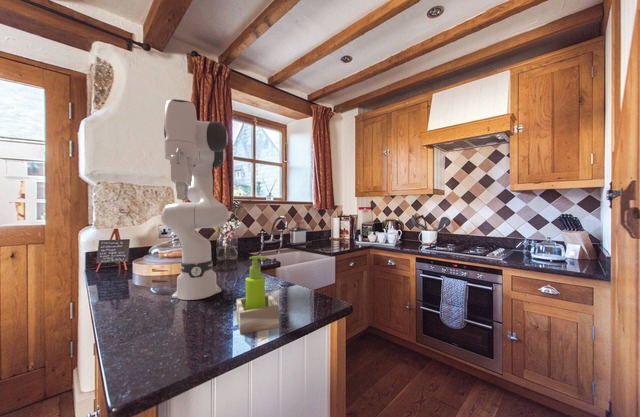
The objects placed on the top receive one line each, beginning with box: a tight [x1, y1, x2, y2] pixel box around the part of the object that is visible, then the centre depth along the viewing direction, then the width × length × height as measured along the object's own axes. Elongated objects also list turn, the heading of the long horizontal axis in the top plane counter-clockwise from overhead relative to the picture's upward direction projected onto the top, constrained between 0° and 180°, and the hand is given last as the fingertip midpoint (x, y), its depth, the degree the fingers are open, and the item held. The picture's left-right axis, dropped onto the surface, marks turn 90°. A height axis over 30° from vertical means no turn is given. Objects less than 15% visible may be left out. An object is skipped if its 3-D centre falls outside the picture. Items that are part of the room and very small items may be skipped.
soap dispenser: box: [245, 255, 268, 310], centre depth 82 cm, size 6×7×20 cm
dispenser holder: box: [235, 293, 280, 335], centre depth 83 cm, size 12×11×6 cm
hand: (182, 199), depth 78 cm, fingers open, 8 cm apart
